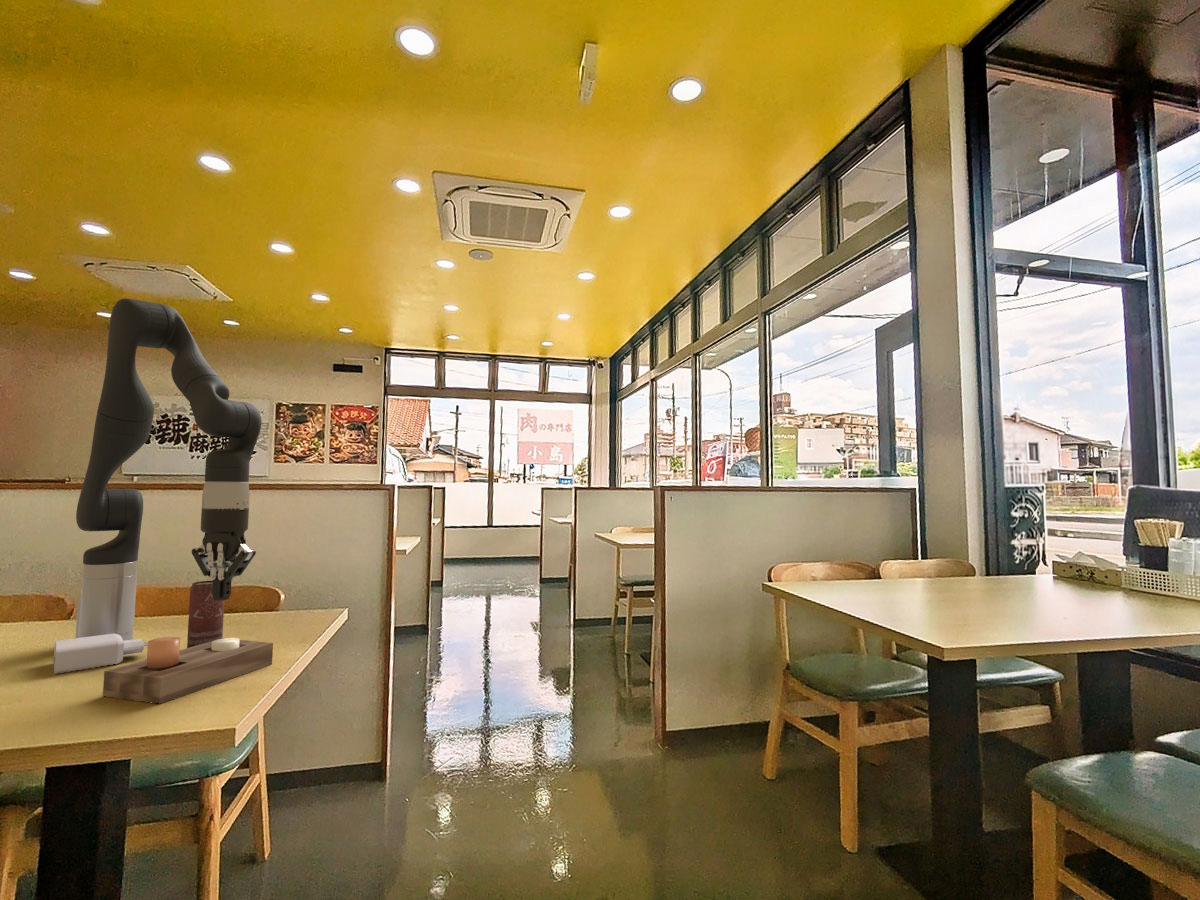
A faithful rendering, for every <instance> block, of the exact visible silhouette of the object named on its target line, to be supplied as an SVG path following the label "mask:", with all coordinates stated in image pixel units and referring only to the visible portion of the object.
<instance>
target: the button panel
mask: <svg viewBox="0 0 1200 900" xmlns="http://www.w3.org/2000/svg"><path fill="white" fill-rule="evenodd" d="M222 639H224V637H222ZM212 642H213V641H212ZM212 642H208V643H204V644H201V645H197V646H194V647H190V648H187V647H186V648H183V649H180V653H179V663H178V664H176V665H173V666H169V667H164V668H147V667H146V665H147V658H146V659H143V660H139V661H136V662H133V663H132V662H131V663H129V664H125V665H122V666H121V665H120V666H119V667H114V668H111V669H107V670H105V671H104V672H103V684H102V685H103V686H102V687H103V688H102V697H103V696H106V697H105V698H111V697H113V698H112V699H118V698H119V700H125V699H127V700H126V701H132V700H136V701H135V702H139V701H145V702H144V703H147V702H152V703H151V704H154V703H159V704H158V705H161V704H160V703H162V704H164V703H163V702H165V703H167V702H170V701H172V699H173V700H175V698H176V699H178V697H179V698H181V697H183V696H187V695H189V693H190V694H192V692H193V693H194V691H195V692H198V691H201V690H203V689H202V688H204V689H206V688H205V687H207V688H209V687H212V686H215V685H217V683H218V684H220V682H221V683H224V682H226V681H229V680H232V679H234V677H235V678H237V677H240V676H243V675H246V674H249V673H252V672H254V671H257V670H260V669H263V668H265V667H268V666H271V665H273V654H274V653H273V650H274V642H267V641H266V642H265V641H256V640H247V639H245V640H243V639H240V642H239V648H235V649H232V650H229V651H225V652H222V651H212V650H211V649H212ZM251 671H252V672H251ZM248 672H249V673H248ZM245 673H246V674H245ZM242 674H243V675H242ZM239 675H240V676H239ZM236 676H237V677H236ZM231 678H232V679H231ZM225 680H226V681H225ZM214 684H215V685H214ZM208 686H209V687H208ZM200 689H201V690H200ZM197 690H198V691H197ZM186 694H187V695H186ZM169 700H170V701H169ZM166 701H167V702H166Z"/></svg>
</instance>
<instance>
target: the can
mask: <svg viewBox="0 0 1200 900" xmlns="http://www.w3.org/2000/svg"><path fill="white" fill-rule="evenodd" d="M212 585H213V580H203V581H196V582H195V581H194V582H192V584H191V586H190V588H189V603H188V605H189V606H188V624H187V641H186V648H190V647H194V646H197V645H201V644H204V643H208V642H212V641H215V640H218V639H222V638H224V637H223V634H224V632H223V631H224V615H225V611H224V610H225V600H223V601H217V600H213V596H212Z"/></svg>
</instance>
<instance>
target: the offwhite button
mask: <svg viewBox="0 0 1200 900" xmlns="http://www.w3.org/2000/svg"><path fill="white" fill-rule="evenodd" d="M223 638H224V637H223ZM240 640H241V639H240V638H238V637H225V638H224V639H218V640H215V641H213V642H212V649H211V650H212V651H222V652H225V651H229V650H232V649H235V648H239V642H240Z"/></svg>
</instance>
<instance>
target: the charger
mask: <svg viewBox="0 0 1200 900" xmlns="http://www.w3.org/2000/svg"><path fill="white" fill-rule="evenodd" d="M144 647H148V641H145V642H144V640H143V639H142V638H136V639H135V638H133V639H132V640H126V641H123V639H122V637H121V635H118V634H106V635H98V636H90V637H82V638H76V637H75V638H68V639H67V638H66V639H61V640H60V639H58V640H54V649H53V650H54V651H53V671H54V673H55V674H54V673H53V674H54V675H58V673H59V674H65V673H64V672H66V673H71V671H72V672H77V671H76V670H79V671H84V670H83V669H85V670H89V669H88V668H92V669H96V668H95V667H98V668H101V667H100V666H104V667H108V666H107V665H111V666H114V665H113V664H117V665H119V664H120V663H122V662H124V656H125V655H133V654H139V653H143V651H144V649H145V648H144ZM118 663H119V664H118Z"/></svg>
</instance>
